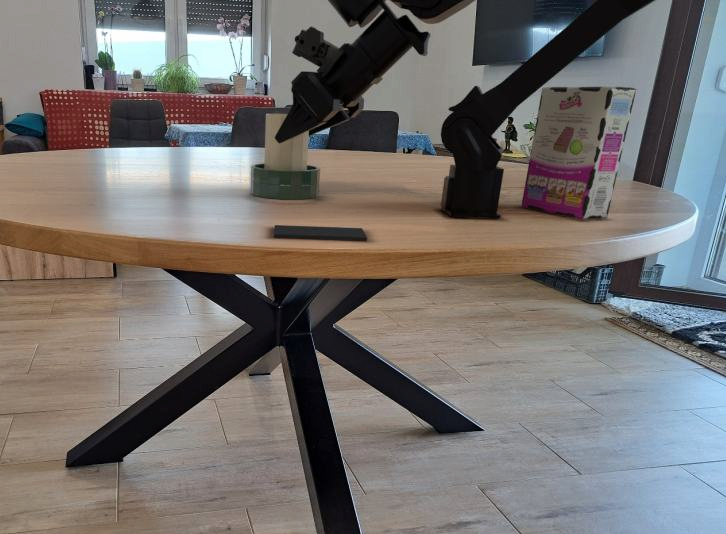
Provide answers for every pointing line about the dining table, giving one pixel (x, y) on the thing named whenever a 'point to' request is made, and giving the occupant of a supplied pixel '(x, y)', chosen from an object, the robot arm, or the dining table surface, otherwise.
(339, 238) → the mat
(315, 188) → the bowl
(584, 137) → the candy bar box
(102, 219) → the dining table surface
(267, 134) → the cup
